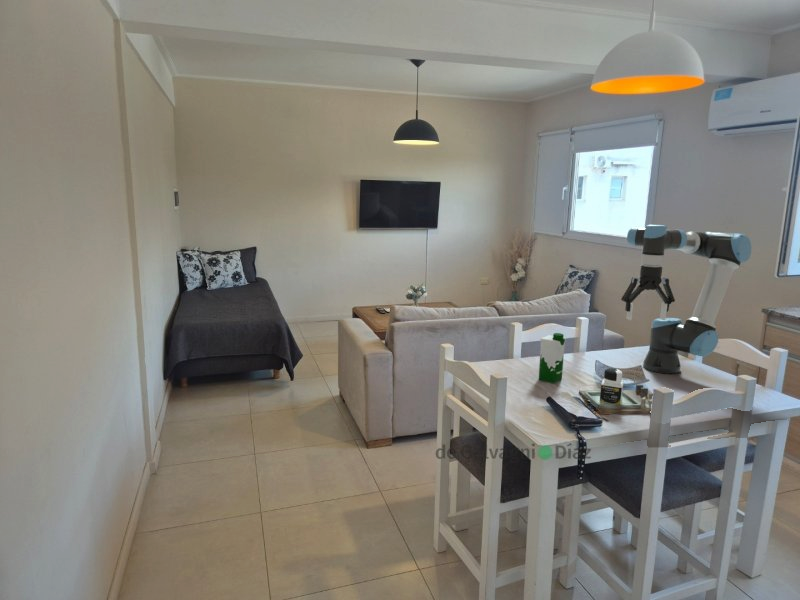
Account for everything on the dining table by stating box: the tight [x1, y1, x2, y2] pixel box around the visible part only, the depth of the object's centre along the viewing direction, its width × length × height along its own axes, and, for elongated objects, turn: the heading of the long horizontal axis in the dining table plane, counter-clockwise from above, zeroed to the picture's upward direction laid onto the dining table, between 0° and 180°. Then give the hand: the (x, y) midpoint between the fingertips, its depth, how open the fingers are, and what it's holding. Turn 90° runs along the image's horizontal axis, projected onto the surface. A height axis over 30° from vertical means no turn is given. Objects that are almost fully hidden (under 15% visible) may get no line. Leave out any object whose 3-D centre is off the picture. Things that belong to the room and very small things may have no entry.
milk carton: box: [538, 332, 567, 384], centre depth 224 cm, size 9×9×20 cm
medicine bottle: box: [600, 367, 624, 404], centre depth 199 cm, size 7×7×12 cm
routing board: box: [578, 384, 654, 415], centre depth 202 cm, size 28×20×4 cm
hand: (645, 319), depth 211 cm, fingers open, 13 cm apart
